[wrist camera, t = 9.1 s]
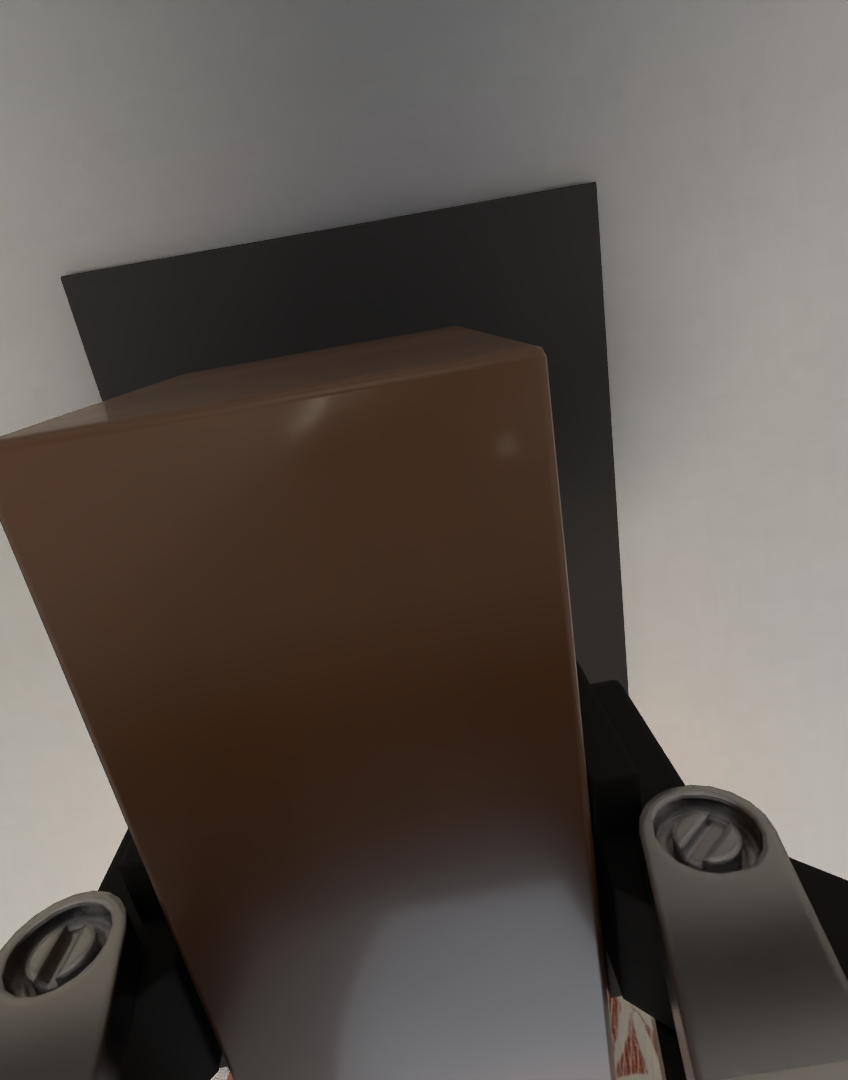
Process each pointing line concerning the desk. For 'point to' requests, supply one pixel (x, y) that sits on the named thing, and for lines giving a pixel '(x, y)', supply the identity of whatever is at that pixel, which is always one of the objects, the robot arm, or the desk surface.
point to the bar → (338, 698)
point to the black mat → (398, 309)
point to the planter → (629, 1042)
